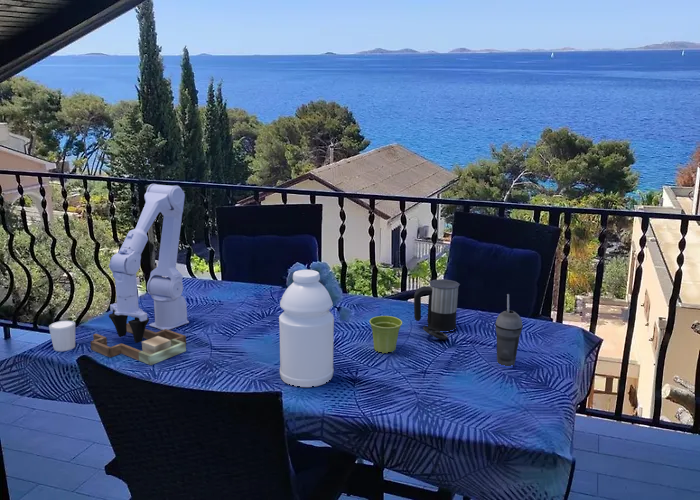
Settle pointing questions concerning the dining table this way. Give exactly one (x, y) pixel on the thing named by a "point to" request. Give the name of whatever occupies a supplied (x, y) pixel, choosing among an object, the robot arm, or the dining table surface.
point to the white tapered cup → (63, 335)
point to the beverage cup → (508, 336)
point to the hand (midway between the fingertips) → (130, 338)
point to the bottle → (306, 332)
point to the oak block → (155, 344)
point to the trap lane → (176, 342)
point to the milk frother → (438, 306)
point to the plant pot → (385, 332)
